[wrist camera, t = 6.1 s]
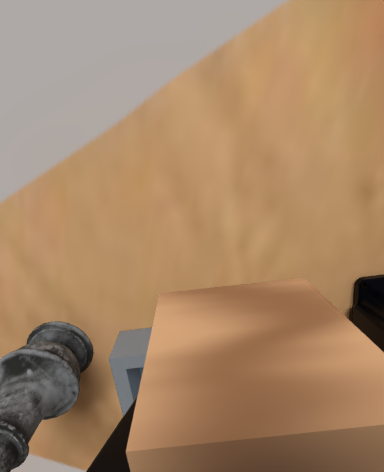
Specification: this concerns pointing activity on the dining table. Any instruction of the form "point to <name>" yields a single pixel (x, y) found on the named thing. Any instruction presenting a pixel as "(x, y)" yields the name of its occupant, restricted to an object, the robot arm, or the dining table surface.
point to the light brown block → (257, 385)
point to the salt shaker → (39, 385)
